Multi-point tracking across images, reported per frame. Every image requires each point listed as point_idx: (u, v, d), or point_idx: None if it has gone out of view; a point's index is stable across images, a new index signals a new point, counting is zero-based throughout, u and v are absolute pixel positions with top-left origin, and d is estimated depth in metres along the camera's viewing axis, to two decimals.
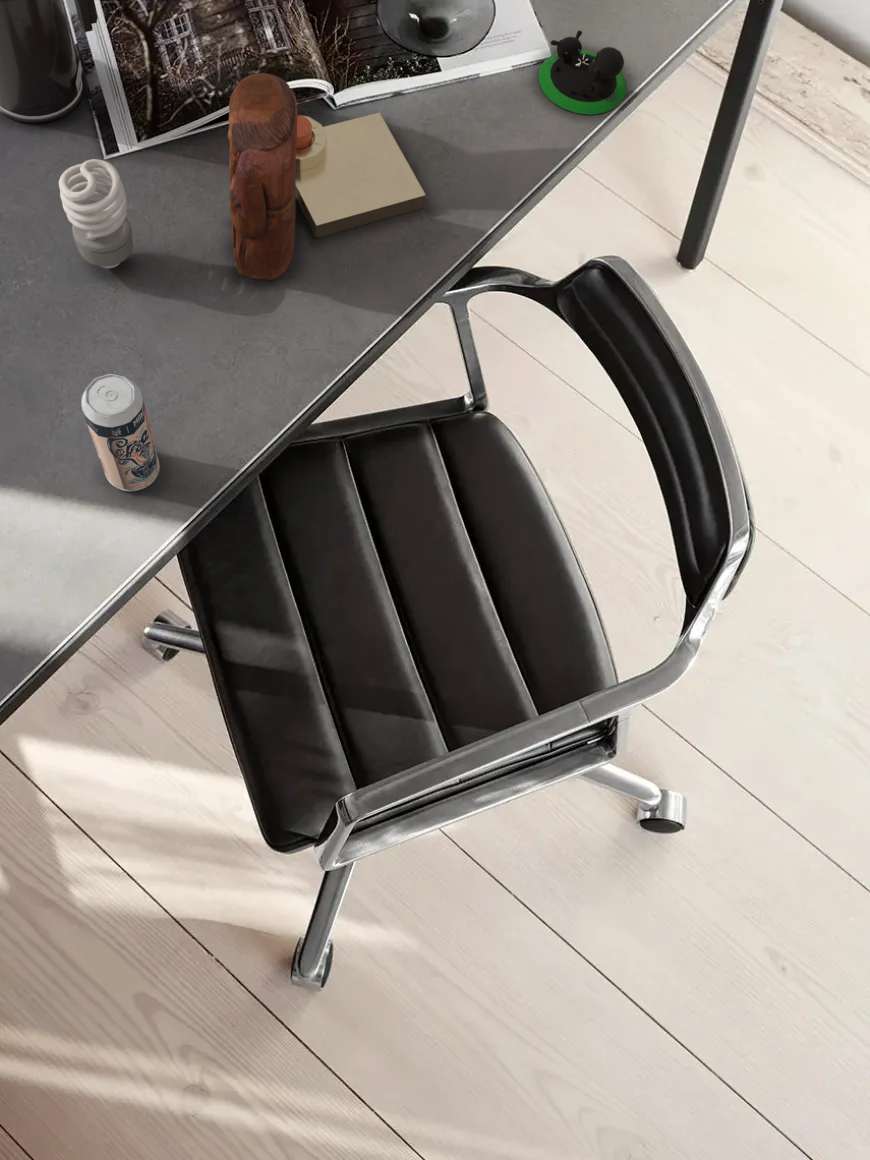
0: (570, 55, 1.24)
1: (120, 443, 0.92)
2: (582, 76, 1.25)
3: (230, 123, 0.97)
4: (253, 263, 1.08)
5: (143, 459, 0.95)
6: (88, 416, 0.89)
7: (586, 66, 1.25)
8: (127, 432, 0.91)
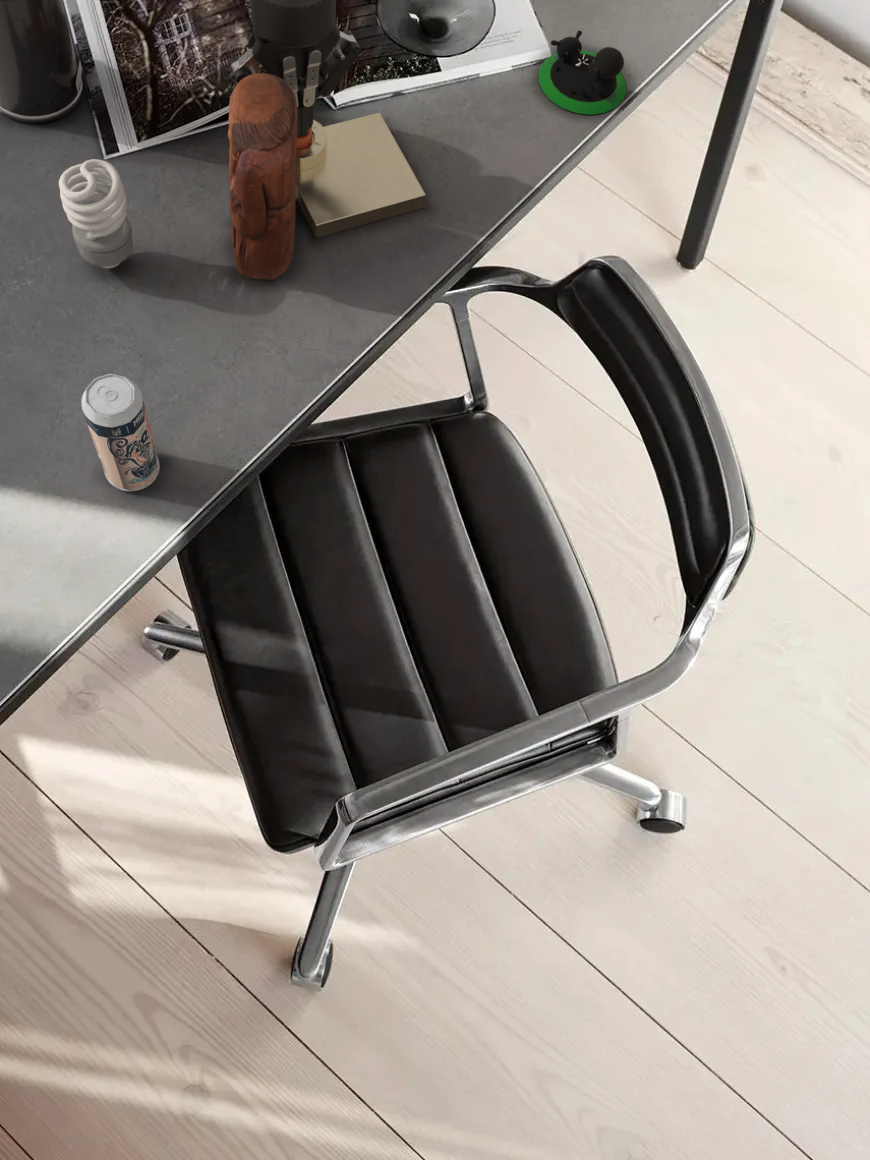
0: (570, 55, 1.24)
1: (120, 443, 0.92)
2: (582, 76, 1.25)
3: (230, 123, 0.97)
4: (253, 263, 1.08)
5: (143, 459, 0.95)
6: (88, 416, 0.89)
7: (586, 66, 1.25)
8: (127, 432, 0.91)
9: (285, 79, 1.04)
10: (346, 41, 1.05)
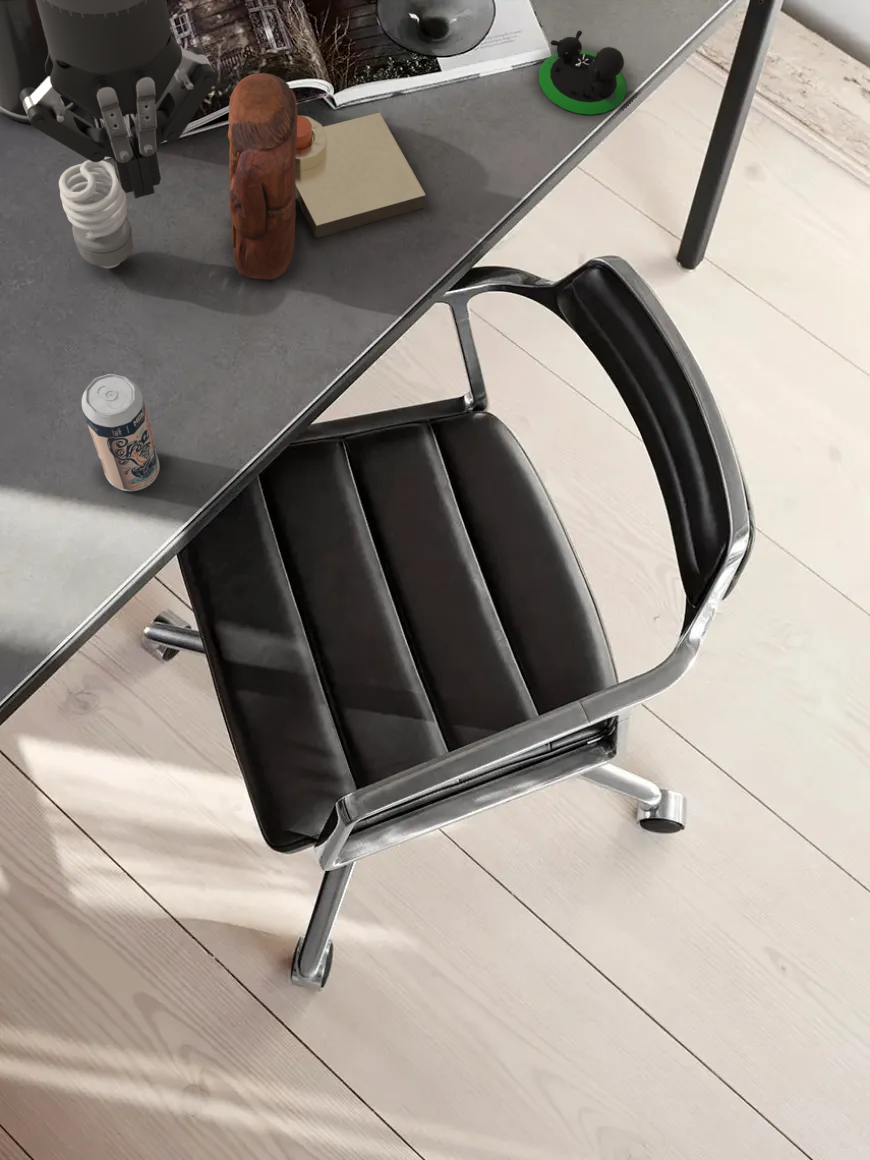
0: (570, 55, 1.24)
1: (120, 443, 0.92)
2: (582, 76, 1.25)
3: (230, 123, 0.97)
4: (253, 263, 1.08)
5: (143, 459, 0.95)
6: (88, 416, 0.89)
7: (586, 66, 1.25)
8: (127, 432, 0.91)
9: (105, 119, 0.72)
10: (194, 63, 0.73)
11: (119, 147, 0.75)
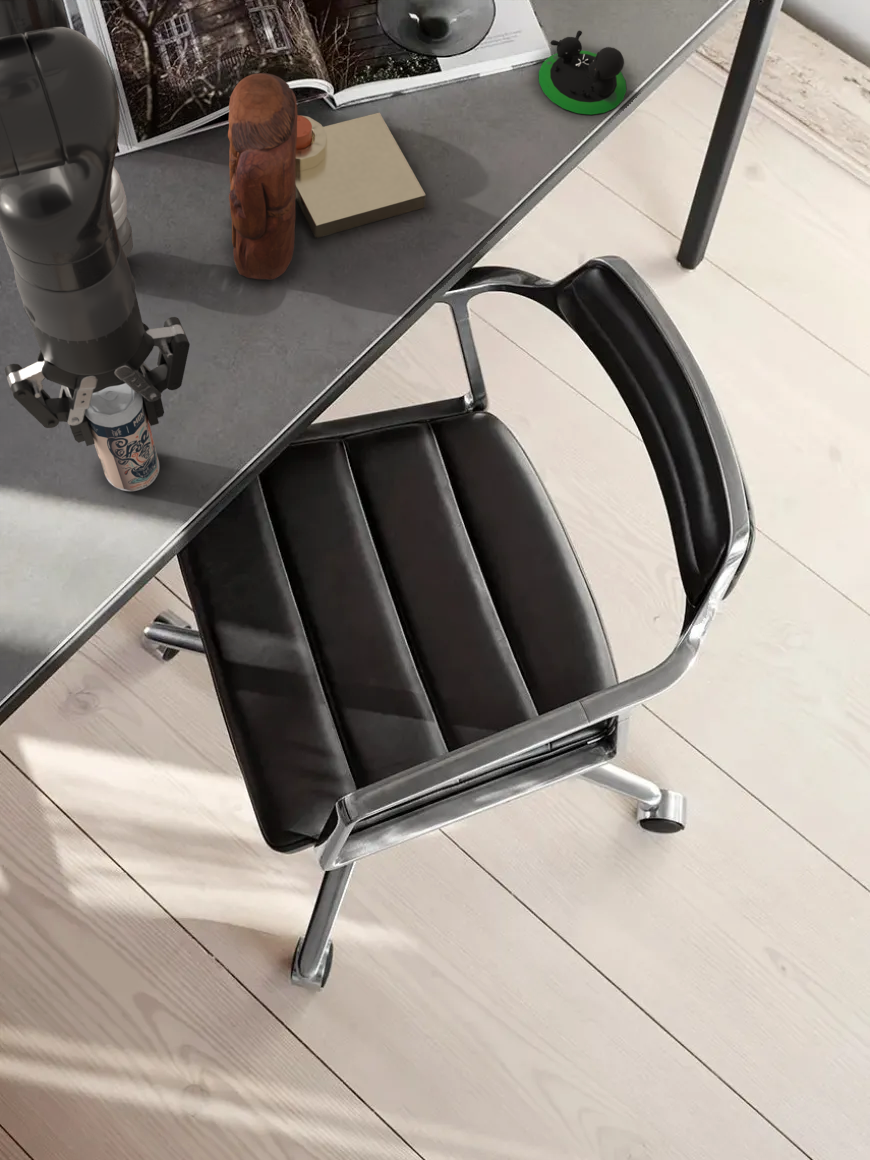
0: (570, 55, 1.24)
1: (120, 443, 0.92)
2: (582, 76, 1.25)
3: (230, 123, 0.97)
4: (253, 263, 1.08)
5: (143, 459, 0.95)
6: (88, 416, 0.89)
7: (586, 66, 1.25)
8: (127, 432, 0.91)
9: (78, 396, 0.85)
10: (167, 338, 0.85)
11: (75, 414, 0.88)
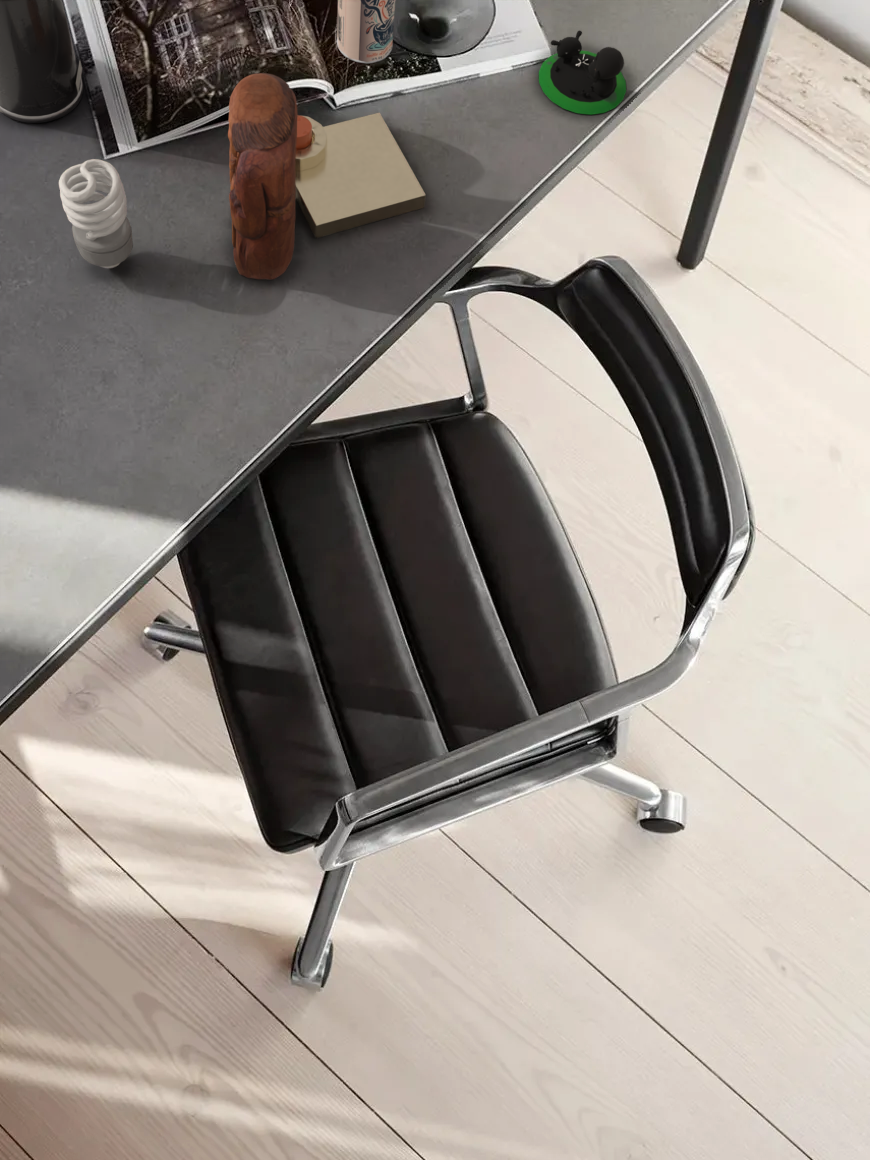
0: (570, 55, 1.24)
1: None
2: (582, 76, 1.25)
3: (230, 123, 0.97)
4: (253, 263, 1.08)
5: (387, 14, 0.92)
6: None
7: (586, 66, 1.25)
8: None
9: None
10: None
11: None
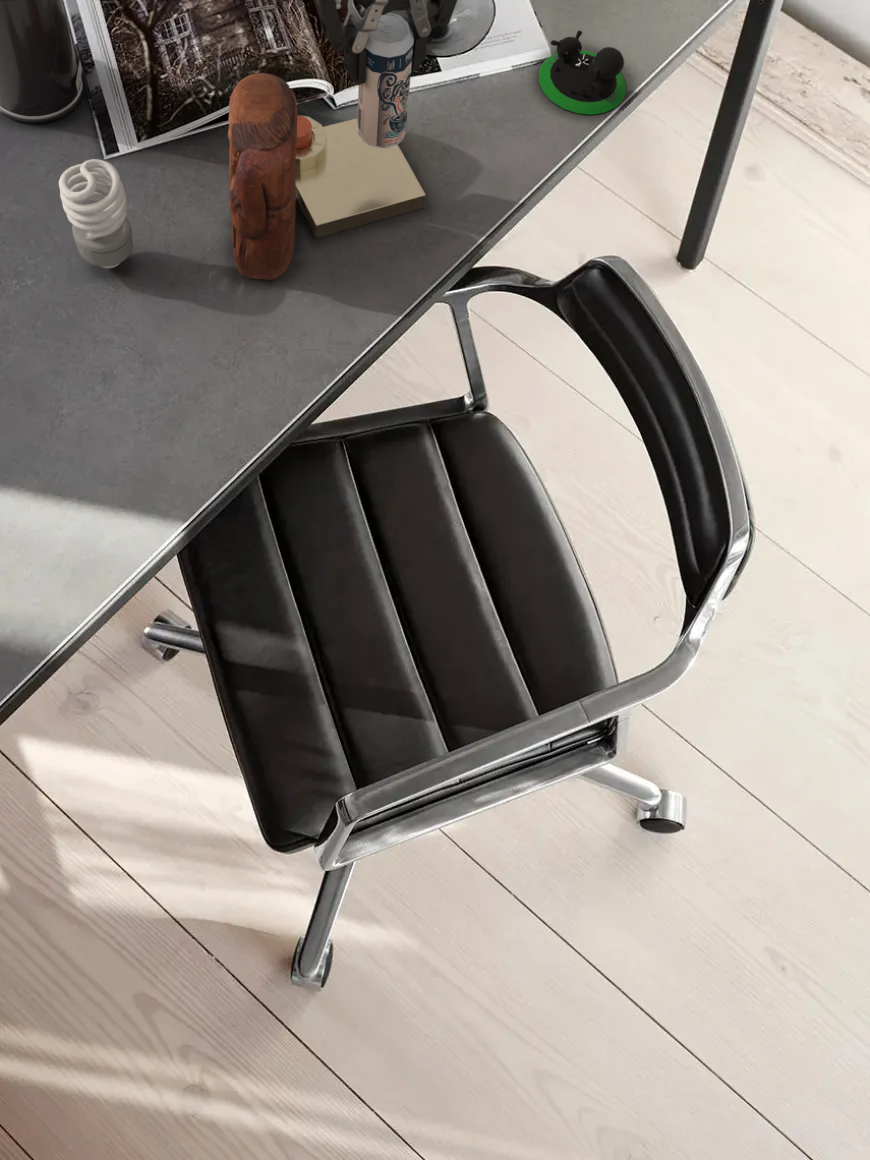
0: (570, 55, 1.24)
1: (390, 80, 1.01)
2: (582, 76, 1.25)
3: (230, 123, 0.97)
4: (253, 263, 1.08)
5: (401, 108, 1.05)
6: (368, 47, 0.99)
7: (586, 66, 1.25)
8: (399, 67, 1.00)
9: (370, 12, 0.94)
10: None
11: (360, 39, 0.97)
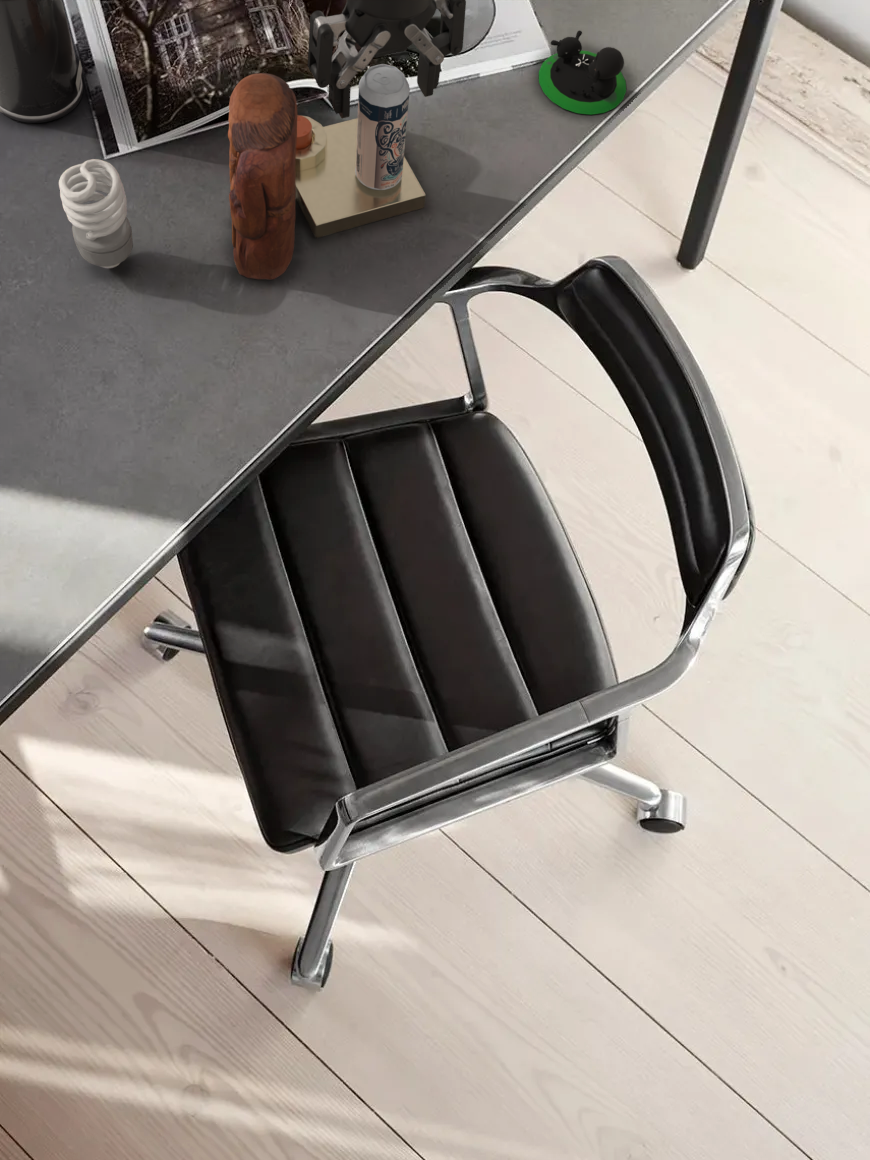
0: (570, 55, 1.24)
1: (387, 128, 1.06)
2: (582, 76, 1.25)
3: (230, 123, 0.97)
4: (253, 263, 1.08)
5: (398, 153, 1.10)
6: (366, 98, 1.04)
7: (586, 66, 1.25)
8: (395, 116, 1.05)
9: (365, 51, 0.98)
10: None
11: (346, 75, 1.00)
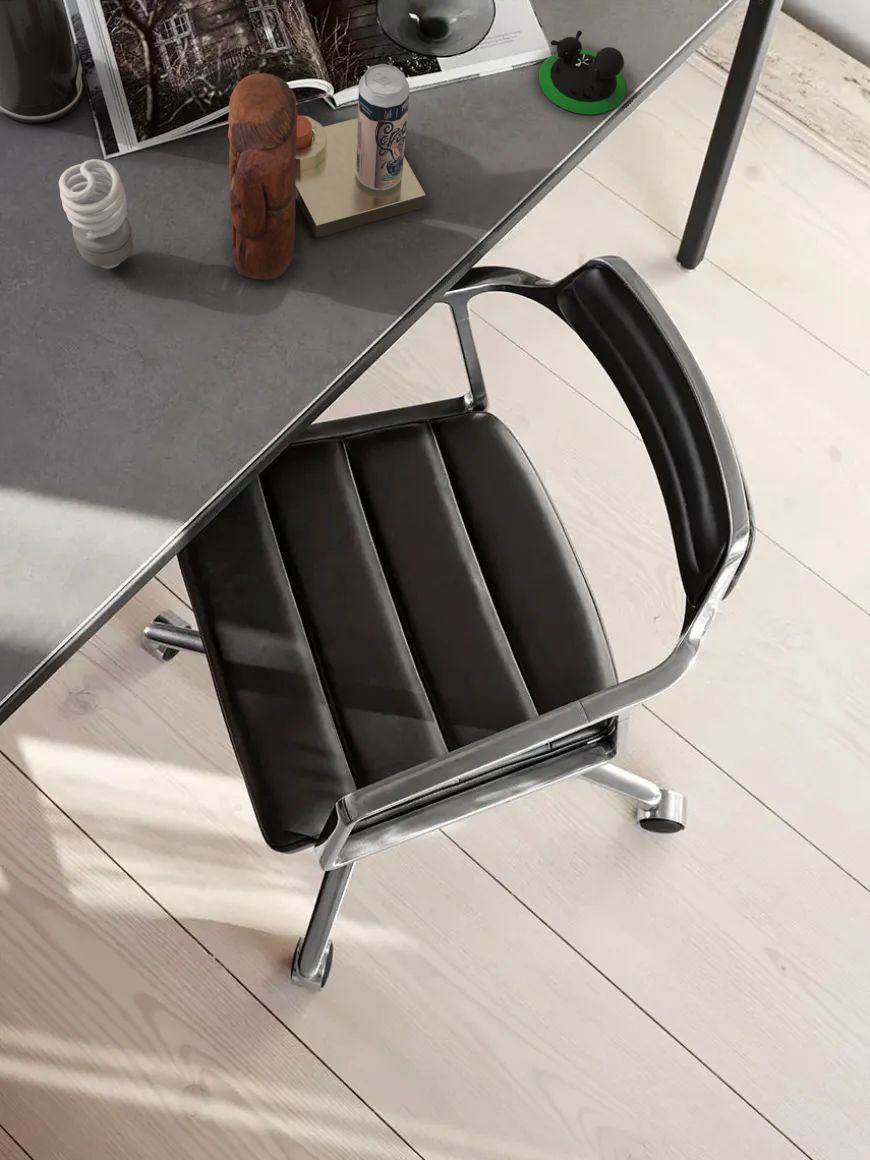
0: (570, 55, 1.24)
1: (387, 128, 1.06)
2: (582, 76, 1.25)
3: (230, 123, 0.97)
4: (253, 263, 1.08)
5: (398, 153, 1.10)
6: (366, 98, 1.04)
7: (586, 66, 1.25)
8: (395, 116, 1.05)
9: None
10: None
11: None
